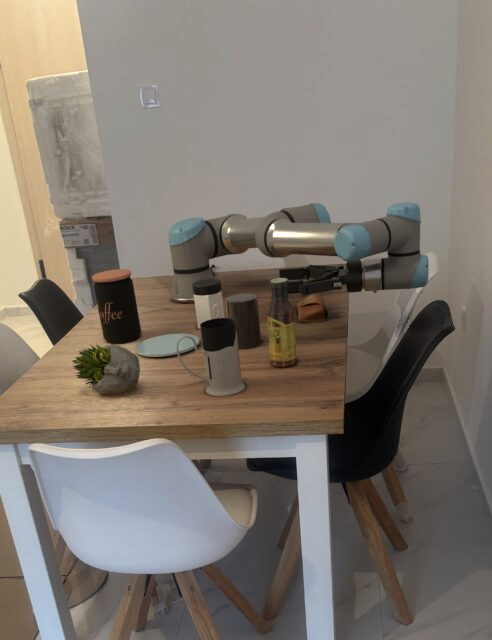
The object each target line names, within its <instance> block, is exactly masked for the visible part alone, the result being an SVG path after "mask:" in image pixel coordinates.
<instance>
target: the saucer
mask: <svg viewBox="0 0 492 640" xmlns="http://www.w3.org/2000/svg"><path fill="white" fill-rule="evenodd" d="M183 336H190V337H192V338H193V339H194V340H195V342H196V345H197V347H198V346H199V345H200V341H201V339H200V338H199V337H198V336H197V335H194V334H190V333H168V334H163V335H157V336H153V337H150V338H147V339H145V340H142V341H141V342H139V343H138V344H137V345H136V346H135V352H136V353H137V354H138V355H140V356H143V357H150V358H160V357H170V356H176V355H177V350H176V344H177V341H178V340H179V339H180V338H181V337H183ZM178 350H179V354H183V353H187V352H189V351H192V350H195V346H194V342H193V341H192V339H190V338H183V339H182V340H181V341H180V342H179V345H178Z"/></svg>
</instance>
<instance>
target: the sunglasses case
mask: <svg viewBox="0 0 492 640" xmlns="http://www.w3.org/2000/svg"><path fill="white" fill-rule="evenodd" d="M294 308H295V309H296V311H297V316H298V318H297V319H298V322H301V323H316V322H317V323H318V322H325V321H326V320H327V319H328V318H329V311H328V307H327V305H326V303H325V300H324V298H323V296H322V295H321V293H316V294H310V295H307V297H305V298H304V299H302V300H301V301H299V302H297V303H295V304H294Z"/></svg>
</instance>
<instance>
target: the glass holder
mask: <svg viewBox="0 0 492 640" xmlns="http://www.w3.org/2000/svg"><path fill="white" fill-rule="evenodd" d="M200 328H201V329H200V335H201V342H202V350H198V346H197V345H196V342H195V340H194V339H193V338H192V337H190V336H183V337H181V338H180V339H179V340H178V341H177V344H176V350H177V354H176V355H177V358H178V360H179V362H180V363H181V365H182V367H183V368H184V369H185V370H186V371H187V372H189V373H190V374H191V375H194V376H196V377H198V378H199V379H201V380H203V381H204V382H205V386H206V389H205V393H206V394H208V395H210V396H214V397H226V396H227V397H228V396H231V395H235V394H238V393H240V392H242V391H243V390H245V388H246V387H245V384H244V382H243V378H242V368H241V360H240V349H238V340H237V333H236V330H235V321H234V320H233V319H230V318H228V317H225V318H216V319H211V320H207V321H205V322H203V323H201V324H200ZM183 338H190V339H192V341H193V342H194V346H195V348H194V351H195V352H196V353H197V354H202V356H203V364H204V372H205V378H204V377H203V376H201V375H199V374H197V373H195V372H194V371H192V370H191V369H189V368H188V367H187V366H186V365H185V363H184V361H183V360H182V357H181V355H180V354H181V353H180V354H179V350H178V345H179V342H180V341H181V340H182V339H183Z"/></svg>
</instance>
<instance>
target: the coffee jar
mask: <svg viewBox="0 0 492 640" xmlns="http://www.w3.org/2000/svg"><path fill="white" fill-rule="evenodd" d="M131 276H132V270H130V269H127V268H126V269H125V268H116V269H109V270H104V271H101V272H97V273H95V274H93V275H92V276H91V279H92V281H93V282H94V285H93V291H94V296H95V301H96V306H97V311H98V315H99V316H98V317H99V320H100V321H99V322H100V326H101V332H102V336H103V339H104V341H106V342H107V344H110V345H121V344H127V343H131V342H134V341H136V340H138V339H139V338H140V336H141V335H142V327H141V322H140V317H139V310H138V304H137V299H136V293H135V286H134V282H133V279H132V278H131Z"/></svg>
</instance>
